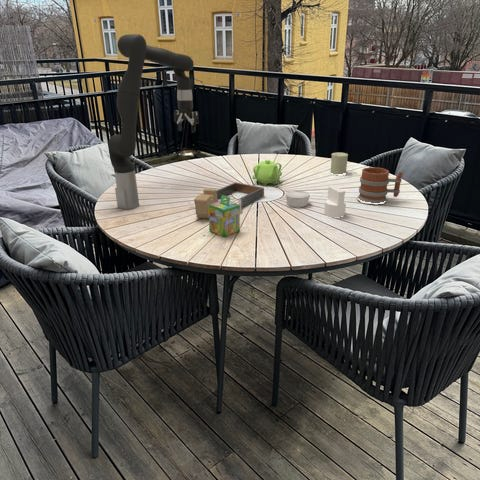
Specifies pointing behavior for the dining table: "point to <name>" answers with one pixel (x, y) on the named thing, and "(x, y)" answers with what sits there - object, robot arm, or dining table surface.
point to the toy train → (205, 202)
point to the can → (339, 163)
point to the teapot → (267, 172)
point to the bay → (250, 190)
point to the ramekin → (297, 198)
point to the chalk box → (224, 217)
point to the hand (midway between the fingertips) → (186, 131)
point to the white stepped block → (335, 202)
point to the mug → (377, 185)
